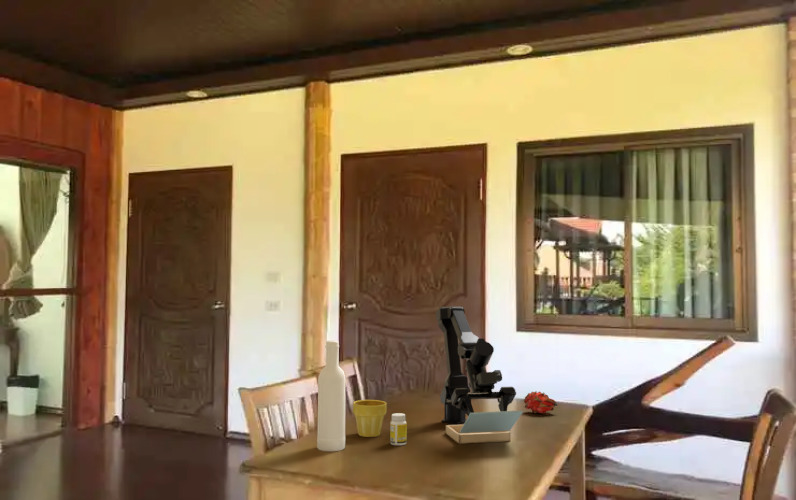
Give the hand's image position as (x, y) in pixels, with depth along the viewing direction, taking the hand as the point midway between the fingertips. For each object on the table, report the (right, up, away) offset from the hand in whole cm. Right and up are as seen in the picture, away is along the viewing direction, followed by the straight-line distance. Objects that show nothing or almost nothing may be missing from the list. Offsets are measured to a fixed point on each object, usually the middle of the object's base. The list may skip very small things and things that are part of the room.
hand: (490, 421), depth 188 cm
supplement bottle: (-26, -7, +2) cm, 27 cm away
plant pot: (-35, -8, +13) cm, 38 cm away
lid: (0, 0, 0) cm, 0 cm away
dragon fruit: (+25, -10, +47) cm, 54 cm away
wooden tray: (-2, -7, +10) cm, 13 cm away
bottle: (-45, -7, -4) cm, 46 cm away
